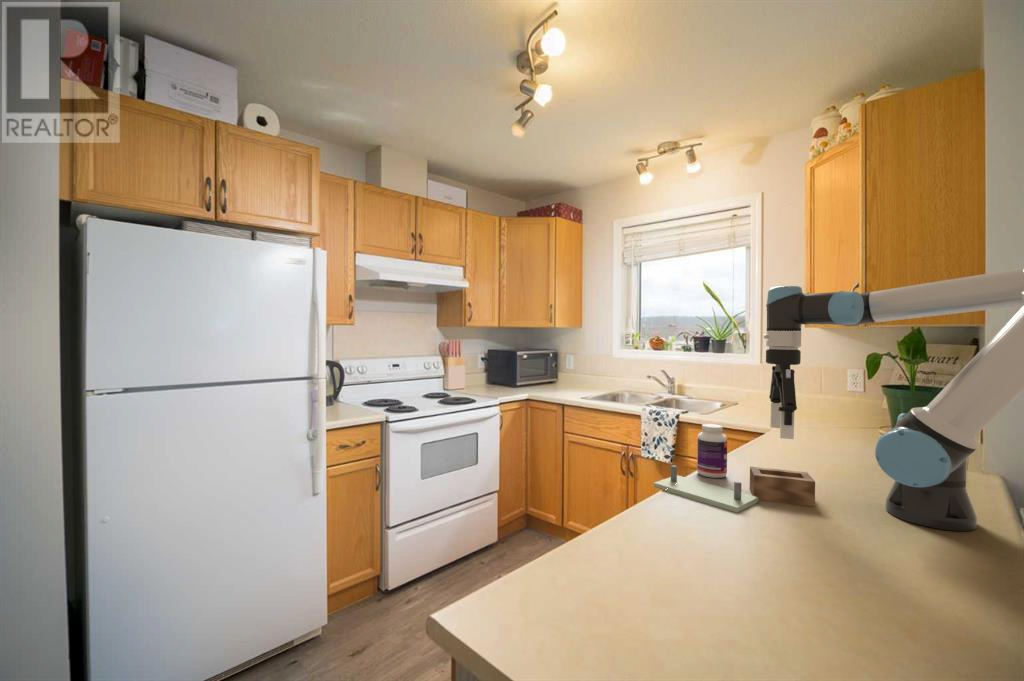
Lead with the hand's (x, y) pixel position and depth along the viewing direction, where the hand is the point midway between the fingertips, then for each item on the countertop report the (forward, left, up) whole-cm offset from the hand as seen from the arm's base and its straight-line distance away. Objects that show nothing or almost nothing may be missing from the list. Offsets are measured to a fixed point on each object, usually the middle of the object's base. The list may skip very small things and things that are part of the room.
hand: (781, 433), depth 115 cm
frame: (0, 0, -16) cm, 16 cm away
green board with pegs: (+13, +14, -16) cm, 25 cm away
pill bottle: (+20, -4, -16) cm, 26 cm away
